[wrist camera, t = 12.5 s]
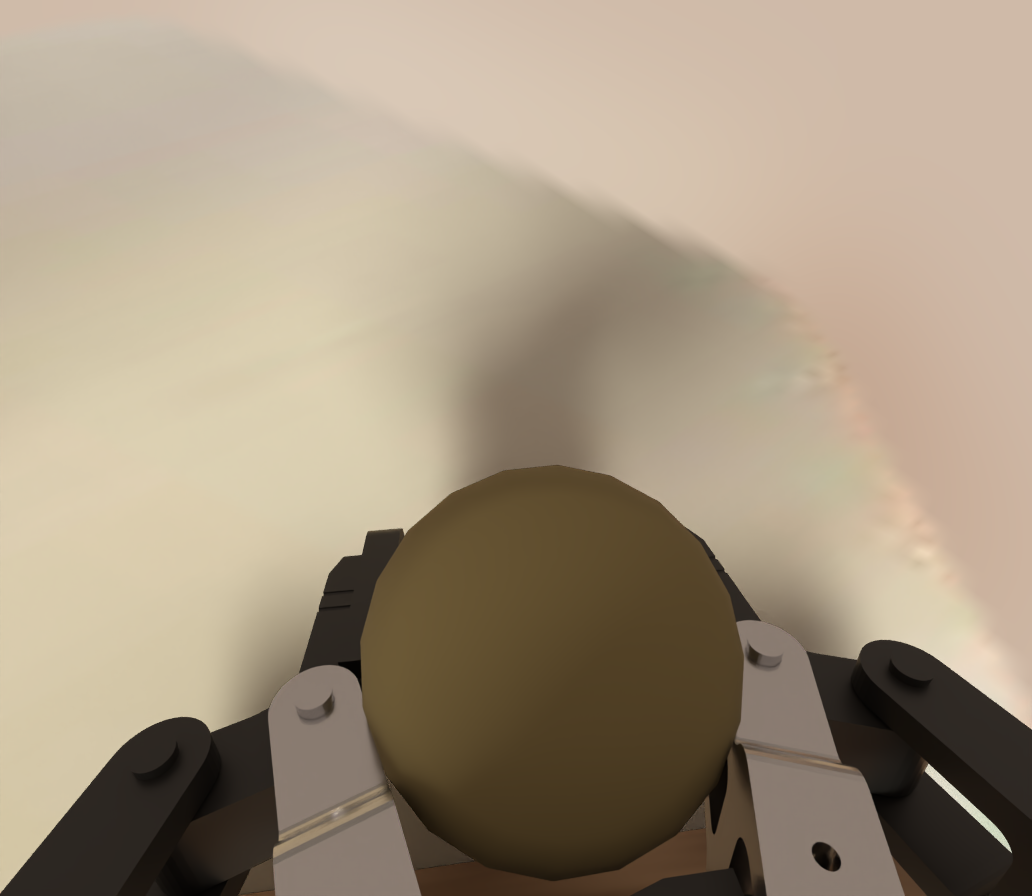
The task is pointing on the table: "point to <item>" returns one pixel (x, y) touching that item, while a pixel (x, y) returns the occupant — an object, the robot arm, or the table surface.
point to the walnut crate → (489, 892)
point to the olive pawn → (552, 672)
